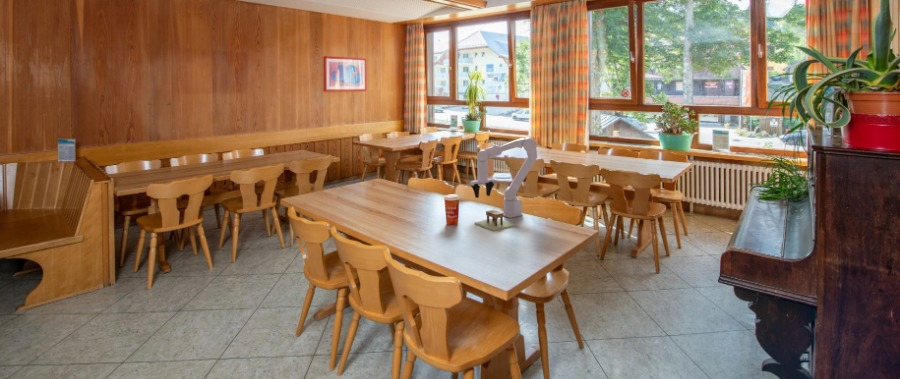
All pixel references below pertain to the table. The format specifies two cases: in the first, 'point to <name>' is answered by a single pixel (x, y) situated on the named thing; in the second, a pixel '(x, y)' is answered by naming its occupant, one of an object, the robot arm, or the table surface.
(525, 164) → the robot arm
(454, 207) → the coffee cup
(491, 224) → the mat
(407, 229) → the table surface
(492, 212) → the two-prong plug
